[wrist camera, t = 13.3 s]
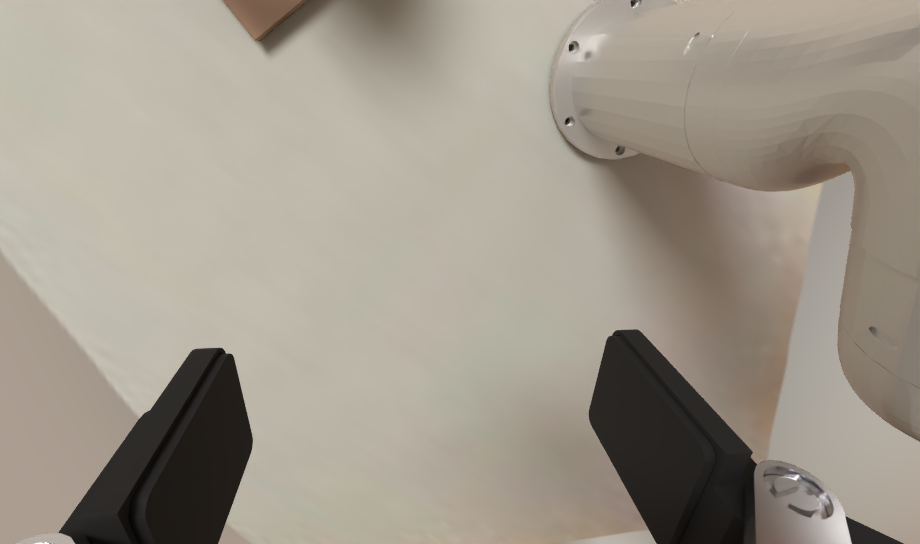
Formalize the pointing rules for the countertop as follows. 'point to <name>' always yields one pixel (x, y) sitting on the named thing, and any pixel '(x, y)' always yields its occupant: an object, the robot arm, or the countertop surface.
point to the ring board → (262, 14)
